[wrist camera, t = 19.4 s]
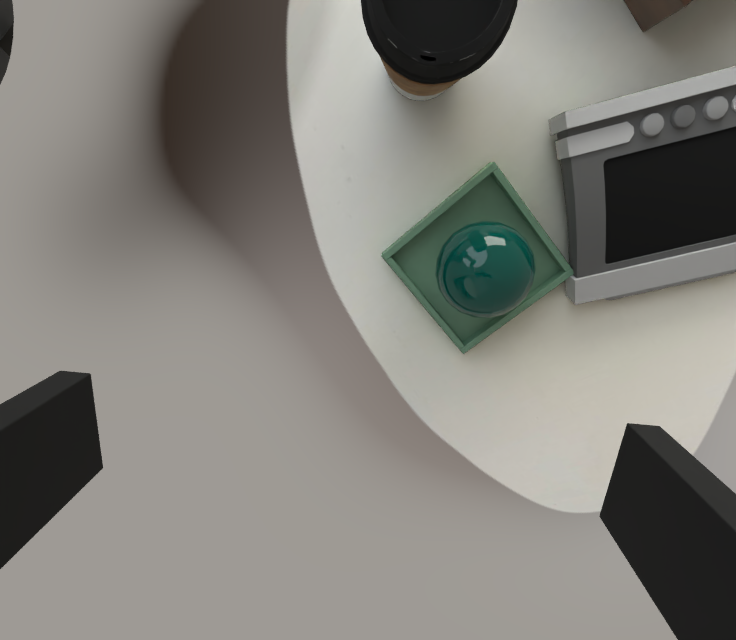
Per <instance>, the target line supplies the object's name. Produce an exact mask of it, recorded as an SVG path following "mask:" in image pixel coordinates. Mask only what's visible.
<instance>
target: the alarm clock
mask: <svg viewBox="0 0 736 640" xmlns="http://www.w3.org/2000/svg"><path fill="white" fill-rule="evenodd" d="M548 122H549V129H550V135H554V134H557V137H558V141H555V144H556V152H557V159H558V160H559V159H560V161H561V168H562V176H563V184H564V192H565V202H566V212H567V223H568V238H569V260H570V267H571V268H572V269H573V272H574V274H573V275H572V276H570V277H569V278H567V279H566V280H565V287H566V296H567V297H568V298H569V299H570V300H571V301H572V302H573V303H574V305H577V304H582V303H586V302H591V301H595V300H600V299H606V300H614V299H618V298H623V297H627V296H632V295H636V294H641V293H645V292H650V291H654V290H659V289H663V288H668V287H672V286H677V285H681V284H686V283H690V282H695V281H699V280H704V279H708V278H713V277H717V276H722V275H726V274H731V273H734V272H736V66H732V67H729V68H725V69H721V70H718V71H714V72H710V73H706V74H703V75H699V76H695V77H692V78H688V79H684V80H680V81H677V82H673V83H669V84H666V85H662V86H658V87H654V88H651V89H647V90H643V91H640V92H636V93H632V94H628V95H625V96H621V97H617V98H614V99H610V100H606V101H602V102H599V103H595V104H591V105H588V106H584V107H580V108H576V109H573V110H569V111H565V112H563V113H561V114H559V115H557V116H555V117H553V118H551V119H549V120H548Z"/></svg>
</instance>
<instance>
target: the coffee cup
mask: <svg viewBox="0 0 736 640" xmlns="http://www.w3.org/2000/svg"><path fill="white" fill-rule="evenodd" d="M517 1H518V0H361V5H362V14H363V20H364V24H365V27H366V31H367V34H368V36H369V38H370V40H371V42H372V44H373V47H374V49H375V50H376V51H377V53H378V54H379V55H380V57H381V60H382V62H383V64H384V66H385V69H386V71H387V73H388V76H389V79H390V81H391V83H392V84H393V86H394V87H395V88H396V90H397V91H398V92H400V93H401V94H402V95H403V96H405V97H407V98H409V99H412V100H418V101H424V100H429V99H432V98H435V97H437V96H438V95H440V94H442V93H443V92H444V91H445V90H446V89H447V88H449V87H451V86H452V85H453V84H455V83H456V82H457V81H459V80H460V79H461V78H463V77H466V76H467V75H469V74H470V73H472V72H474V71H475V70H477V69H479V68H480V67H481V66H482V65H483V64H484V63H485V62H486V61H487V60H489V59H490V58H491V57H492V55H493V54H494V53H495V51H496V50H497V49H498V47H499V46H500V45H501V43H502V41H503V40H504V38H505V36H506V34H507V32H508V30H509V28H510V25H511V22H512V19H513V16H514V13H515V10H516V7H517Z"/></svg>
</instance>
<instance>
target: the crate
mask: <svg viewBox="0 0 736 640" xmlns="http://www.w3.org/2000/svg"><path fill="white" fill-rule="evenodd" d="M624 1H625V3H626V4H627V6H628V8H629V9H630V11H631V13H632V14H633V16H634V18H635V20H636V21H637V23H638V25H639V26H640V28H641V30H642V31H643V32H645V31H646V30H648V29H650V28H651V27H653V26H654V25H656V24H658V23H659V22H661V21H663V20H664V19H666V18H667V17H669V16H671V15H672V14H674V13H676V12H677V11H679V10H681V9H682V8H684V7H685V6H687V5H688V4H689V3H690V2H691V1H693V0H624Z"/></svg>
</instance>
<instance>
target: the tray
mask: <svg viewBox="0 0 736 640" xmlns="http://www.w3.org/2000/svg"><path fill="white" fill-rule="evenodd" d="M479 221H494V222H500V223H503V224H505V225H508V226H510V227H513V228H514V229H515V230H516V231H518V232H519V233H520V234H521V235H522V236H523V237H524V238H525V239H526V240H527V242H528V244H529V246H530V247H531V249H532V251H533V254H534V259H535V266H536V271H535V277H534V283H533V285H532V287H531V289H530V291H529V293H528V295H527V296H526V298H525V299H524V300H523V301H522V302H521V303H520V304H519V305H518V306H517V307H516V308H514V309H512V310H511V311H509V312H507V313H505V314H503V315H501V316H496V317H492V318H475V317H471V316H468V315H466V314H463V313H461V312H458V311H457V310H456V309H455V308H453V307H452V306H451V305H450V304H449V303H447V302H446V300H445V299H444V297H443V295H442V294H441V292H440V290H439V289H438V285H437V280H436V276H435V269H436V260H437V257H438V254H439V252H440V250H441V247H442V245H443V244H444V243H445V241H446V240H447V239H448V238H449V237H450V236H451V235H452V233H454V232H455V231H457V230H459V229H460V228H462V227H463V226H465V225H467V224H471V223H475V222H479ZM382 257H383V259H384V260H385V261H386V262H387V263H388V265H389V266H390V267H391V268H392V269H393V271H394V272H395V273H396V274H397V275H398V277H399V278H400V279H401V280H402V281H403V283H404V284H405V285H406V286H407V287H408V288H409V290H410V291H411V292H412V293H413V294H414V296H415V297H416V298H417V299H418V300H419V302H420V303H421V304H422V305H423V306H424V308H425V309H426V310H427V311H428V312H429V314H430V315H431V316H432V317H433V318H434V320H435V321H436V322H437V323H438V324H439V326H440V327H441V328H442V329H443V330H444V331H445V333H446V334H447V335H448V336H449V337H450V339H451V340H452V341H453V342H454V343H455V345H456V346H457V347H458V348H459V349H460V351H461V352H462V353H463V354H464V353H465V352H467V351H468V350H470V349H471V348H472V347H474V346H475V345H476V344H478V343H479V342H481V341H482V340H483V339H485V338H486V337H487V336H489V335H490V334H492V333H493V332H494V331H496V330H497V329H498V328H500V327H501V326H503V325H504V324H505V323H507V322H508V321H510V320H511V319H512V318H514V317H515V316H516V315H518V314H519V313H521V312H522V311H523V310H525V309H526V308H527V307H529V306H530V305H532V304H533V303H534V302H536V301H537V300H538V299H540V298H541V297H543V296H544V295H545V294H547V293H548V292H550V291H551V290H552V289H554V288H555V287H556V286H558V285H559V284H561V283H562V282H563V281H565V280H566V279H567V278H569V277H570V276H572V275H573V274H574V272H573V269H572V268H571V267H570V265H569V264H568V263H567V261H566V260H565V258H564V257H563V256H562V254H561V253H560V252H559V250H558V249H557V247H556V246H555V245H554V243H553V242H552V241H551V239H550V238H549V236H548V235H547V234H546V232H545V231H544V230H543V228H542V227H541V225H540V224H539V223H538V221H537V220H536V219H535V217H534V216H533V214H532V213H531V212H530V210H529V209H528V208H527V206H526V205H525V203H524V202H523V201H522V199H521V198H520V197H519V195H518V194H517V192H516V191H515V190H514V188H513V187H512V186H511V184H510V183H509V181H508V180H507V179H506V177H505V176H504V175H503V173H502V172H501V171H500V169H499V168H498V166H497V165H496V164H495V162H492V163H489V164H488V165H486V166H485V167H484V168H483V169H482V170H480V171H479V172H478V173H477V174H476V175H475V176H473V177H472V178H471V179H470V180H469V181H467V182H466V183H465V184H464V185H463V186H461V187H460V188H459V189H458V190H457V191H455V192H454V193H453V194H452V195H451V196H449V197H448V198H447V199H446V200H445V201H443V202H442V203H441V204H440V205H439V206H438V207H436V208H435V209H434V210H433V211H432V212H430V213H429V214H428V215H427V216H426V217H424V218H423V219H422V220H421V221H420V222H418V223H417V224H416V225H415V226H414V227H412V228H411V229H410V230H409V231H408V232H406V233H405V234H404V235H403V236H402V237H401V238H399V239H398V240H397V241H396V242H395V243H393V244H392V245H391V246H390V247H389V248H387V249H386V250H385V251H384V252H383V253H382Z"/></svg>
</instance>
